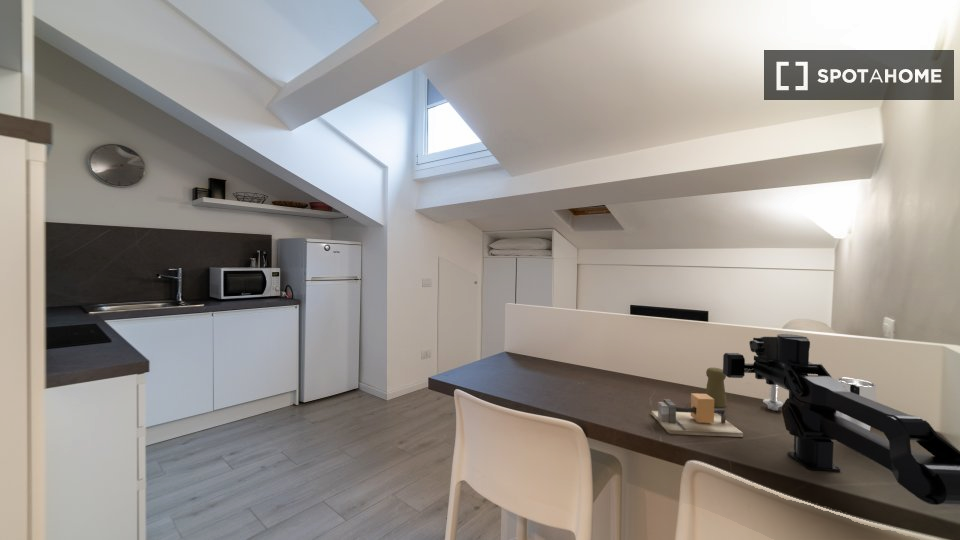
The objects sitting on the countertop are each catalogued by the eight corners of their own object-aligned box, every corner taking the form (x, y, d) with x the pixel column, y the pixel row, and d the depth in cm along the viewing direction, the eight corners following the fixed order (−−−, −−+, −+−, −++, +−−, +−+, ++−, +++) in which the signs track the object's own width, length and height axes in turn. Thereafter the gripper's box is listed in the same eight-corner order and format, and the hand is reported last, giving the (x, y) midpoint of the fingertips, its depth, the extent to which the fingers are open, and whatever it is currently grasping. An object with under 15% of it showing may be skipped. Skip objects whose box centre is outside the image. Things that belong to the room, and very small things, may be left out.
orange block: (713, 422, 97) (714, 399, 97) (698, 422, 97) (698, 398, 97) (705, 416, 101) (706, 393, 101) (690, 415, 101) (691, 393, 101)
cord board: (743, 436, 92) (743, 413, 92) (669, 433, 94) (669, 410, 94) (716, 416, 104) (717, 395, 104) (651, 414, 106) (651, 393, 106)
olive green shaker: (730, 408, 110) (731, 372, 110) (708, 406, 112) (709, 370, 111) (721, 400, 116) (722, 366, 116) (700, 398, 118) (701, 365, 117)
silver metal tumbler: (832, 432, 95) (834, 375, 95) (871, 440, 91) (873, 381, 90) (836, 442, 90) (838, 382, 89) (877, 452, 85) (879, 388, 85)
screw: (776, 413, 107) (759, 407, 111) (787, 411, 108) (769, 404, 113) (778, 369, 106) (760, 364, 111) (788, 367, 108) (770, 363, 112)
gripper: (824, 343, 89) (777, 330, 105) (743, 341, 91) (709, 329, 106) (822, 388, 89) (776, 369, 105) (742, 385, 91) (708, 367, 106)
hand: (742, 357), depth 106 cm, fingers open, 9 cm apart
